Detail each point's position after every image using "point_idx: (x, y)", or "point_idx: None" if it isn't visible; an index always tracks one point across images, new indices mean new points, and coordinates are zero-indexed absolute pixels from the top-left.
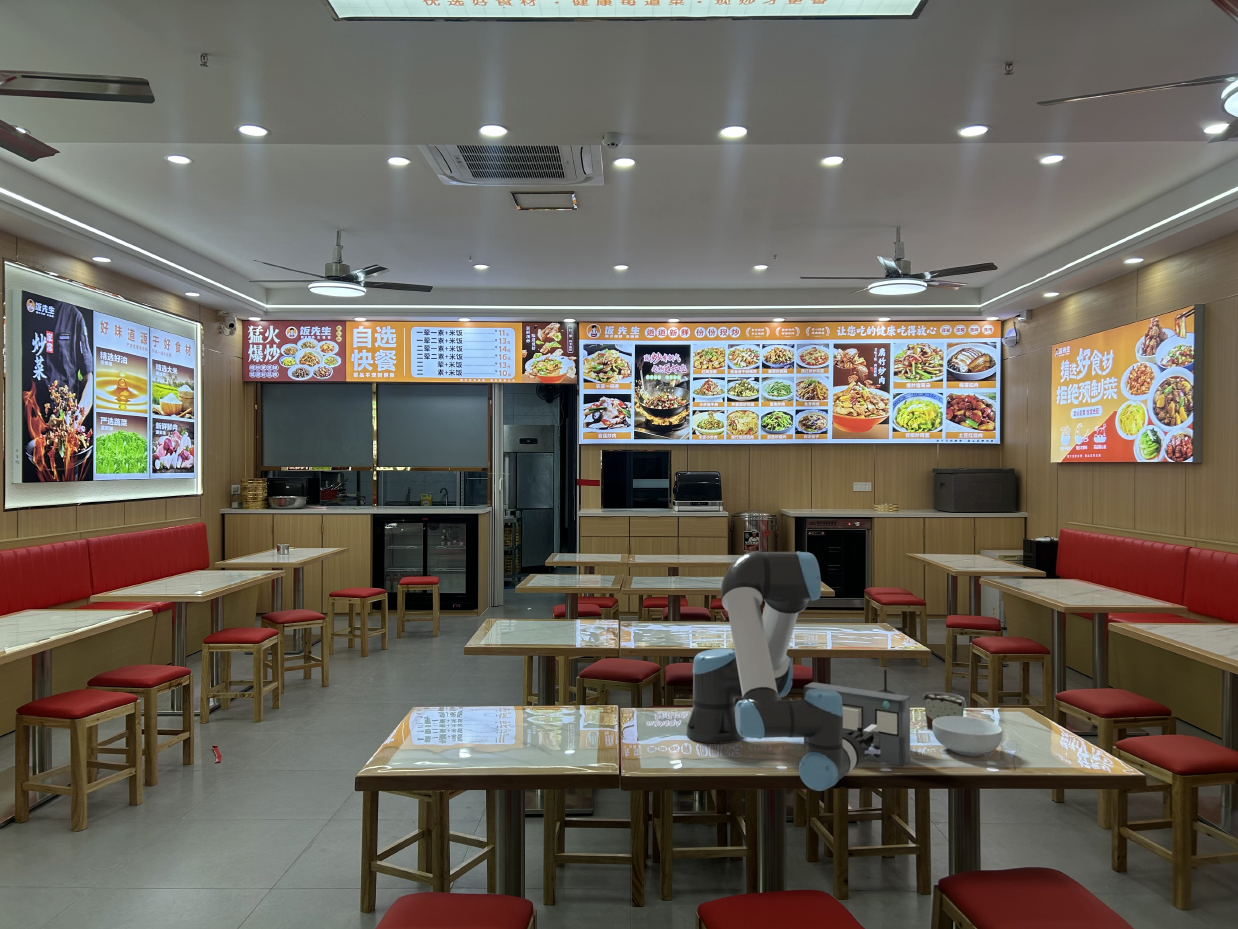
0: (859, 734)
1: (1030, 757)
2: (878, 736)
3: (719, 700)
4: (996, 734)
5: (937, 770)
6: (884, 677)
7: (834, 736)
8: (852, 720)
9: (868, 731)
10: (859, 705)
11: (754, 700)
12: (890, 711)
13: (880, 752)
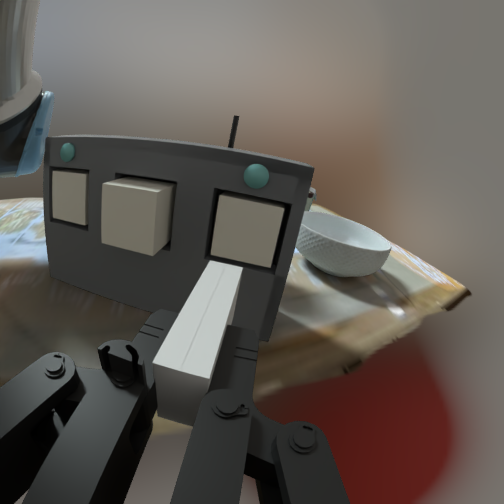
0: (114, 452)
1: (394, 271)
2: (327, 478)
3: None
4: (391, 247)
5: (340, 341)
6: (232, 130)
7: None
8: (138, 224)
9: (201, 376)
10: (166, 176)
11: None
12: (258, 198)
13: None
